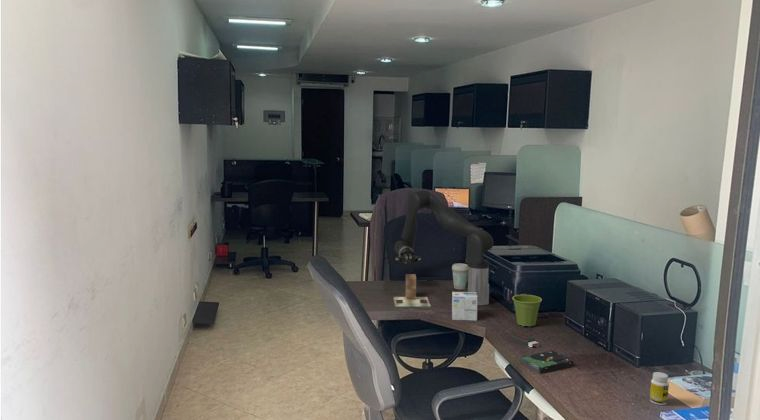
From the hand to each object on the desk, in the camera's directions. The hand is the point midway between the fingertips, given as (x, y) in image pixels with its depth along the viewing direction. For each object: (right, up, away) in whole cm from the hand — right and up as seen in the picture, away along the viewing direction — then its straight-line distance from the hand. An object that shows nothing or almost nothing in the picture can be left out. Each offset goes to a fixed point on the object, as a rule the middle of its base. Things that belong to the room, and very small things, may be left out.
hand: (409, 262), depth 275 cm
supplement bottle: (+68, -32, -105) cm, 129 cm away
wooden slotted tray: (0, -18, -10) cm, 21 cm away
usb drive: (+40, -25, -57) cm, 74 cm away
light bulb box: (+22, -21, -29) cm, 42 cm away
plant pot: (+46, -22, -37) cm, 63 cm away
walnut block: (0, -16, -6) cm, 17 cm away
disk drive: (+43, -28, -78) cm, 93 cm away
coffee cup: (+27, -15, +19) cm, 36 cm away
